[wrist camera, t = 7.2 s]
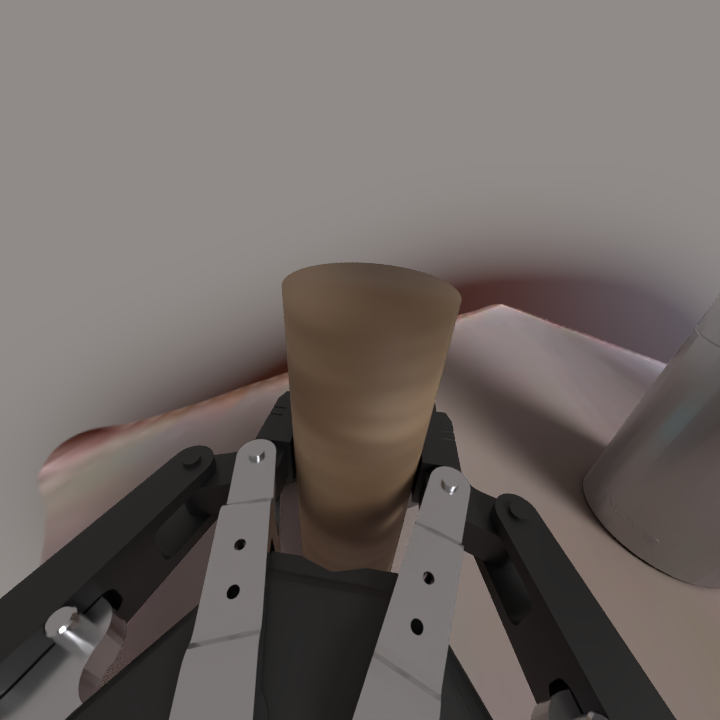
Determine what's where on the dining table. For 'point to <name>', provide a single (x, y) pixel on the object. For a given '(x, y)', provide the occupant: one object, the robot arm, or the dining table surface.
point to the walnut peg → (361, 401)
